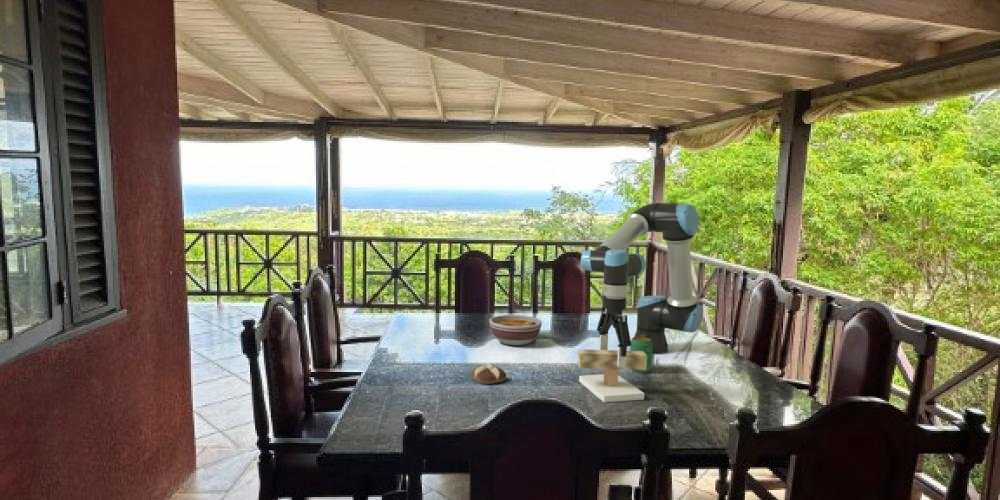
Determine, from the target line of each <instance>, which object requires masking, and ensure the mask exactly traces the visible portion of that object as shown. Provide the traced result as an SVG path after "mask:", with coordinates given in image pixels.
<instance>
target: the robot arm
mask: <svg viewBox="0 0 1000 500" xmlns="http://www.w3.org/2000/svg"><path fill="white" fill-rule="evenodd" d="M698 213H699V212H698V211H697V209H696V208H695V206H694V205H692V204H689V203H682V202H679V203H677V202H675V203H674V202H670V203H669V202H653V203H648V204H645V205H643V206H641V207H639V208H637V209H636V210H634V211H633V212H632V213H630V214H629V215H628V216H627V218H626V220H625V222H624V223H623V224H622V225H621V226H620V227H619V228H618V229H617V230H615V231H614V232H613V233H612V234H611V235H610V236H609V237H608V238H607V239H606V240H604V241H603V242H602V243H601V244H600V245H599V246H598V247H597V248H596V249H594V250H593V249H588V250H583V252H582V254H581V256H580V264H581V266H580V267H582V269H583V270H584V271H588V272H591V273H594V272H596V273H603V274H604V277H603V279H604V280H603V287H602V290H603V296H604V297H603V298H602V308H601V314H600V318H599V320H598V324H597V328H596V331H597V332H598V335H599V347H598V348H599V349H598V350H609V349H608V348H609V346H608V345H609V331H610V328H611V326H612V327H613V328H614V330H615V333H616V337H617V341H618V345H617V350H618V361H617V366H626V355H627V351H628V347H630V346H631V340H632V339H631V336H630V335H631V334H630V331H629V324H628V315H627V314H625V315H624V314H623V311H625V310H626V309H627V298H626V297H627V296H628V295H627V294H628V293H627V292H628V278H629V277H635V276H638V275H641V274H642V273H644V271H645V270H646V268H647V261H646V259H645V257H644V256H643V255H641V254H639V253H634V252H633V253H632V252H631V253H629V252H628V251H627V248H629V247H630V246H631V244H633V243H634V242H635V241H636V240H637V239H638V238H639V237H642V236H645V235H646V234H647V233H652V232H653V233H654V232H655V233H662V240H664V241H665V242H666V245H667V248H666V249H667V262H668V275H669V291H670V295H669V297H668V298H667V296H665V295H646V296H645V295H644V296H641V297H640V298H638V302H637V307H636V308H637V312H636V313H637V314H636V315H637V317H636V331H635V333H634V336H633V337H646V338H649V339H651V342H652V353H654V354H655V355H656V354H658V353H660V354H665V353H667V352H668V351H669V344H668V340H667V338H666V334H665V333H666V332H665V330H666V329H669V330H675V331H679V332H683V333H696V332H697V330H698V329H699V328H700V326H701V324H702V321H703V315H704V308H703V306H702V305H701V304H698V299H697V297H695V296H694V294H693V276H692V275H693V274H692V258H691V240H693V238H694V236H695V234H697V233H698V231H699V224H700V217H699V215H698ZM658 355H659V354H658Z"/></svg>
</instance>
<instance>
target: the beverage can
mask: <svg viewBox="0 0 1000 500" xmlns="http://www.w3.org/2000/svg"><path fill="white" fill-rule="evenodd" d="M630 340H631V346H629V351H644V352H645V354H646V355H647V369H646V370H632V371H631V372H633V371H634V373H637V372H638V373H637V374H647V373H649V372H651V370H652V359H653V357H652V355H653V354H652V342H651V339H649V338H646V337H634V336H633V337H632V338H631V339H630Z"/></svg>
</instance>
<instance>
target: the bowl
mask: <svg viewBox="0 0 1000 500" xmlns="http://www.w3.org/2000/svg"><path fill="white" fill-rule="evenodd" d="M542 323H543V322H542V320H541V319H539V318H538V317H534V316H529V315H521V314H504V315H497V316H493V317H491V318H489V327H490V330H491V332H492V334H493V336H494V337H495V339H496V340H498V341H499V342H500V343H501V344H503V345H508V346H525V345H528V344H530V343H532V342H533V341H534V340H535V339H536V338H537V337H538V335H539V334H540V331H541V329H542Z"/></svg>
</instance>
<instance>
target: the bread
mask: <svg viewBox="0 0 1000 500" xmlns="http://www.w3.org/2000/svg"><path fill="white" fill-rule="evenodd" d="M506 378H507V374H506V372H505V371H504V369H502V368H500V367H498V366H497V365H495V364H494V363H489V364H487V365H484V364H480V365H478V366H476V367H475V368H474V369H473V370H472V372H471V379H472V380H474V381H475V382H477V383H480V384H481V385H491V384H493V385H494V384H498V383H501V382H504V381H505V380H506Z"/></svg>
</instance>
